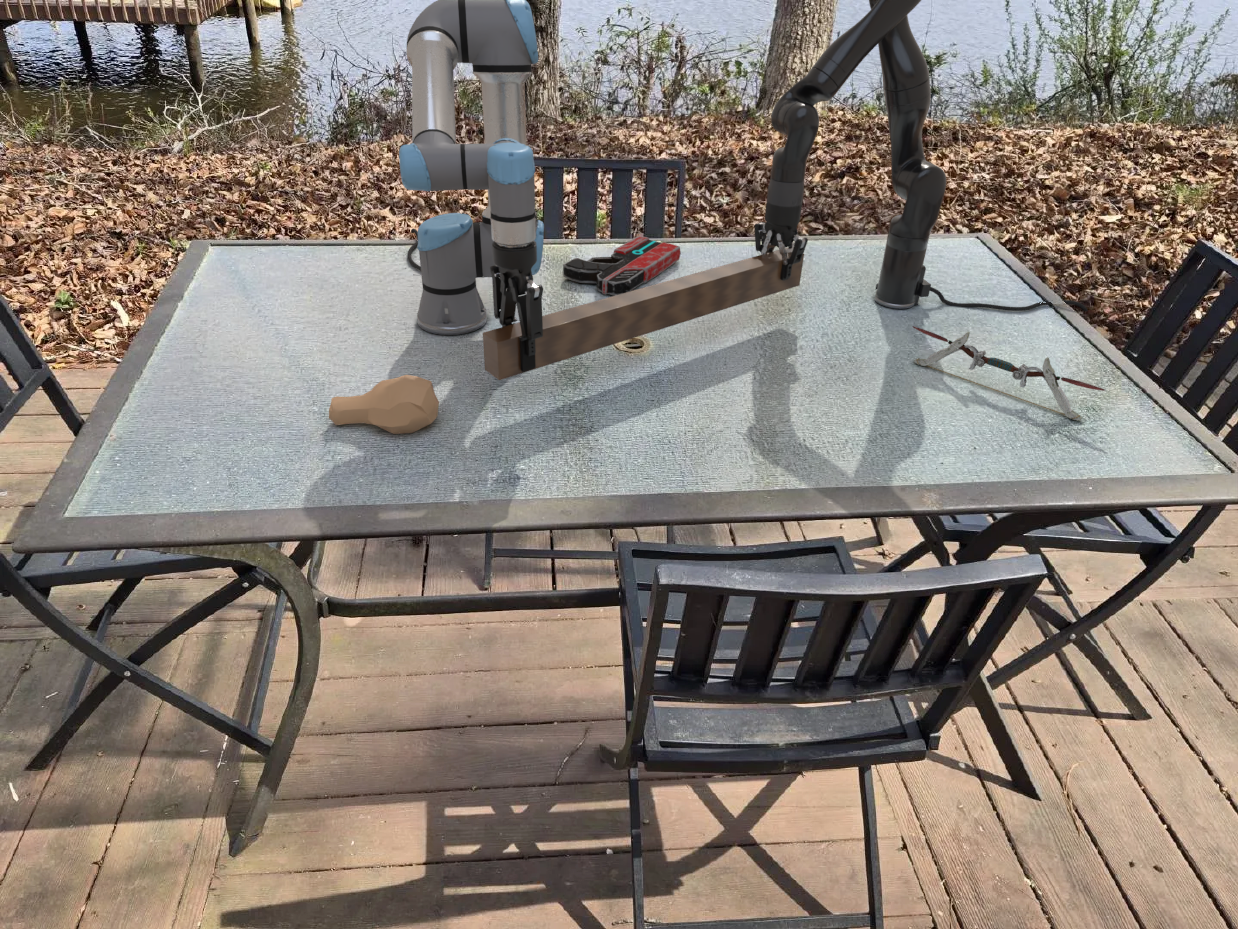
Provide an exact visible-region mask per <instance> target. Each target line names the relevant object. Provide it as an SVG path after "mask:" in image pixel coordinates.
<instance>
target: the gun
mask: <svg viewBox="0 0 1238 929" xmlns="http://www.w3.org/2000/svg"><path fill="white" fill-rule="evenodd" d="M681 253H682V252H681V246H679V245H676V244H673V243H669V242H665V241H663V242H660V241H657V240H652V239H650V238H649V237H647V236H642V235H638V236H636V237H634V238H632V239H631V240H629V241H627V242H625V243H624V244H622V245H620V246H618V247H616V248H615V249H614V248H613V253H612V254H610V256H594V257H593V256H592V257H591V258H589V259H587V260H585V259H582V258H579V257H575V258H573V259H571V260H568V261H567V262H564V263H563V264H562V276H563V278H565V279H566V280H569V281H572V282H575V283H580V284H596V290H597V291H598V292H599V293H602V295H611V296H616V295H619V294H623V293H626V292H630V291H634V290H635V289H636V288H637V287H639V286H641V285H642V284H647V283H648V282H649V281H651V280H652V279H654V278H655V277H658V276H659V275H660V274H662V273H663V272H664V271H665V270H667V269H669V267H671V266H672V265H674V264H675V263H677V262H678V261H679V260H680V257H681Z"/></svg>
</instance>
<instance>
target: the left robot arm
mask: <svg viewBox="0 0 1238 929" xmlns="http://www.w3.org/2000/svg"><path fill="white" fill-rule="evenodd" d="M407 34H408V35H407V38H406V58H407V61H408V63H409V65H410V67H411V89H412V90H411V95H412V96H411V123H412V124H411V127H412V128H411V136H412V138H411V141H412V142H411V143H409V144H402V145H401V146H400V148H399V152H398V160H399V174H400V178H401V183H402V185H403V187H404V189H406V190H408V191H420V192H421V191H423V192H437V191H439V192H440V191H465V190H466V191H486V190H487V202H488V203H487V204H488V205H487V207H486V208H485V209H484V210H483V211H482V213H481V221H479V222H474V221H473V218H472V217H471V216H470V215H469V214H467V213H460V212H450V213H443V214H439V215H435V216H433V217H432V216H431V217H430V218H427V219H426V220H424V221H423V222H422V223H421V224H419V226H418V229H416V228H411V229H410V233H411V234H415V236H416V241H415V243H414V244H413V245H411V246H410V248H409V249H408V251H407V260H408V262H409V263H410V265H411V266H412V267H414V268H415V269H417V270H418V271H420V275H421V284H422V292H421V297H420V302H419V305H418V310H417V313H416V318H417V325H418V326H419V328H420V329H421V330H423V331H424V332H427V333H430V334H433V335H440V336H459V335H465V334H469V333H473V332H476V331H477V330H480V329H481V328H483V327H484V326H485V325H486V323H487V320H488V316H487V309H486V306H485V304H484V302H483V299H482V298H481V295H480V293H479V291H478V288H477V279H478V278H479V279H480V278H482V279H483V278H491V280H492V281H491V282H492V298H493V301H492V302H493V316H494V318H495V319H497V320H499V324H500V326H501V327H505V326H508V325H512V324H515V323H517V322H518V321H519V322H520V326H521V332H522V337H519V340H520V360H521V371H522V372H524V373H526V372H525V371H527V372H529V371H528V370H531V369H534V370H536V369H535V368H536V363H535V353H536V348H535V339H537V338H540V337H543V321H542V316H543V301H542V300H543V299H542V298H543V294H544V286H543V285H542V284H538V285H537V284H536V283H535V282H534V277H533V276H535V275H537V274H538V273H539V272H540V269H541V266H542V259H543V254H544V235H545V233H544V232H545V224H544V222H543V221H542V220H540V219H538V216H537V211H536V190H535V189H536V184H535V183H536V182H535V181H536V180H535V179H536V178H535V173H536V166H535V160H534V159H535V158H534V152H533V151H534V150H533V149H532V148H531V146H529V145H528V144H527V140H528V139H527V117H526V116H527V115H526V91H525V90H526V89H525V87H526V86H525V83H526V81H527V79H528V78H529V77H530V76H531V75H532V65H535V64H537V63H539V52H538V42H537V34H536V28H535V22H534V16H533V13H532V7H531V5H530V3H529V1H527V0H435V1H433V2H432V3H431V4H429V5H428V6H426V7H425V8H424V9H423V10H422V11H421V12H420V13H419V15H417V17H416V18H415V20H414V21H413V23H412V25H411V27H410V28H409V31H408V33H407ZM458 64H471V65H472V74H473V75H474V76H475V77H476V78H477V79H478V81H479V82H480V86H481V99H482V101H481V102H482V116H483V133H484V135H483V136H484V143H457V129H456V128H457V127H456V108H455V107H456V105H455V104H456V103H455V77H454V76H455V74H454V70H455V69H456V67H457V65H458ZM417 240H418V241H417ZM416 248H417V250H418V255H419V263H420V265H419V264H418V263H416V262H415V261H414V260H413V259H412V253H413V251H414V250H415V249H416ZM516 308H517V314H518V319H517V317H516ZM531 371H532V370H531Z"/></svg>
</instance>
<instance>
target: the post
mask: <svg viewBox="0 0 1238 929" xmlns="http://www.w3.org/2000/svg"><path fill="white" fill-rule="evenodd" d="M785 249H788V247H785ZM787 256H788V254H787ZM804 258H805V253H803V256H802V259H801V261H800V262H799V263H795V264H792V271H791V276H790V278H789V279H787V280H784V281H783V280H781V279H780V277H781V269H782V264H783V260H782V255H781V254H780V251H779V249H778V250H773V252H769V253H766V254H762V255H761V254H759V255H755V256H752V257H749V258H745V259H741V260H737V261H733V262H729V263H727V264H723V265H720V266H716V267H712V268H709V269H705V270H702V271H701V270H700V271H697V272H695V273H691V274H687V275H684V276H680V277H676V278H673V279H670V280H665V281H663V282H659V283H656V284H652V285H648V286H644V287H641V288H638V289H633V290H631V291H630V292H626V293H623V294H619V295H611V296H609V297H605V298H602V299H598V300H594V301H591V302H588V303H584V304H580V305H577V306H574V307H573V306H572V307H570V308H566V309H562V310H558V311H555V312H552V313H548V314H544V315H542V321H543V337H540V338H537V339H535V348H536V353H535V363H536V368H535V369H531V370H528V371H525V372H522V371H521V360H520V340H519V337H522V332H521V326H520V321H519V322H514V323H515V324H514V323H512V325H508V326H505V327H502V326H501V327H498V328H494V329H490V330H487V331H484V332H482V343H483V346H482V347H483V359H484V361H483V362H484V370H485V372H487V373H488V374H490V375H491V376H493V377H494V378H495V379H497V381H502V380H505V379H509V378H512V377H514V376H517V375H521V374H525V373H527V372H530V371H534V370H537V369H540V368H543V367H546V366H549V365H553V364H556V363H558V362H559V363H560V362H563V361H565V360H569V359H571V358H574V357H578V356H581V355H583V354H587V353H590V352H593V351H597V350H599V349H603V348H606V347H609V346H613V345H616V344H620V343H622V342H625V341H628V340H632V339H635V338H638V337H641V336H644V335H647V334H650V333H654V332H657V331H660V330H663V329H666V328H667V329H668V328H670V327H673V326H676V325H679V324H682V323H686V322H688V321H691V320H695V319H698V318H701V317H704V316H707V315H708V316H709V315H711V314H714V313H717V312H721V311H723V310H726V309H729V308H733V307H737V306H739V305H743V304H746V303H749V302H751V301H752V302H753V301H756V300H758V299H761V298H764V297H768V296H771V295H775V294H777V293H780V292H784V291H786V290H790V289H792V288H797V287H799V286H800V285H801V277H802V272H803V264H804Z"/></svg>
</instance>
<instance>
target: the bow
mask: <svg viewBox="0 0 1238 929" xmlns="http://www.w3.org/2000/svg"><path fill="white" fill-rule="evenodd" d="M912 328H914V329H915V330H917V331H919V332H920V333H922V334H924V335H927V336H929V337H931V338H934V339H936V340H939V341H942V342H945V343H947V344H948V347H944V348H942V349H939V350H938V351H935V352H934V353H931V355H930V356H928V357H927V358H915V359H913V362H914V364H917V365H918V366H923V367H928V368H931V369H933V370H936V371H939V372H942V373H944V374H948V375H950V376H953V377H956V378H958V379H962V380H964V381H967V382H970V383H973V384H975V385H979V386H981V387H984V388H987V389H990V390H992V391H996V392H998V393H1000V394H1003V395H1007V396H1010V397H1013V398H1015V399H1018V400H1021V401H1023V402H1026V403H1028V404H1032V405H1035V406H1037V407H1040V408H1044V409H1047V410H1049V411H1052V412H1054V413H1057V414H1060V415H1063V416H1066V417H1067V418H1069V419H1071V420H1073V421H1081V420H1082V419H1083V416H1082V415H1081V414H1079V413H1077V412H1076V411H1074V410H1073V409H1072V408H1071V404H1070V401H1069V398H1068V397H1067V395H1066V394H1065V392H1064V390H1063V388H1062V387H1061V386H1060V385H1059V381H1060V380H1061V381H1063V382H1065V383H1068V384H1071V385H1074V386H1078V387H1081V388H1085V389H1090V390H1097V391H1102V392H1104V391H1106V389H1105V388H1101V387H1099V386H1096V385H1093V384H1090V383H1087V382H1083V381H1080V380H1077V379H1072V378H1068V377H1064V376H1062V377H1061V376H1058V375H1056V371H1055V369H1054V368H1053V366H1052V364H1051V360H1050V357H1049V356H1047V357H1045V358H1044V360H1043V362H1042V363H1043V364H1042V368H1039V367H1037V366H1027V365H1026V364H1025V363H1022V364H1021V365H1020V366H1019V367H1017V366H1015V365H1014V364H1013V363H1012V362H1009V361H1007V360H1004V359H1000V358H997V357H987V356H986V354H987V352H986V350H978V349H977V348H976V347H975V346H973V345H970V344H966V343H967V342H968V340H969V337H970V333H971V332H970V331H967V332H965V333H964V334H963V335H962V336H961V337H959V338H957V339H955V340H954V341H953V340H949V339H948V338H946V337H944V336H941V335H939V334H937V333H935V332H932V331H929V330H926V329H923V328H921V327H917V326H914V325H912ZM958 351H963V353H965V354H966V355H967V356H968V357H970V358H971V359H972V361H971V363H970V365H969V367H968V370H971V371H974V370H975V369H976V366H977V367H979V368H982V367H984V366H985V364H986V365H989V366H991V367H993V368H997V369H999V370H1002V371H1006V372H1009V373H1012V374H1011V376H1012V378H1013V379H1015V380H1018V381H1020V382H1019V387H1020V388H1023V389H1024V388H1025V387H1026V386H1027V378H1039V377H1040V378H1043V379H1044V381H1045V383H1046V384H1047V386H1048V387H1049V389H1050V390H1051V393H1052V395H1053V397H1054V399H1055V401H1056V403H1057V406H1058V407H1059V408H1060V410H1061V411H1062V412H1060V411H1057V410H1055V409H1052V408H1049V407H1046V406H1043V405H1041V404H1037V403H1035V402H1032V401H1029V400H1026V399H1023V398H1020V397H1017V396H1015V395H1013V394H1009V393H1007V392H1005V391H1001V390H998V389H995V388H993V387H990V386H987V385H984V384H981V383H979V382H977V381H976V382H975V381H972V380H970V379H967V378H964V377H961V376H958V375H956V374H953V373H950V372H947V371H944V370H941V369H938V368H936V367H933V366H931V365H932V364H934V363H935V364H936V363H938V362H939V361H941V360H943V359H944V358H946V357H948V356H950V355H952V354H954V353H956V352H958Z"/></svg>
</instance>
